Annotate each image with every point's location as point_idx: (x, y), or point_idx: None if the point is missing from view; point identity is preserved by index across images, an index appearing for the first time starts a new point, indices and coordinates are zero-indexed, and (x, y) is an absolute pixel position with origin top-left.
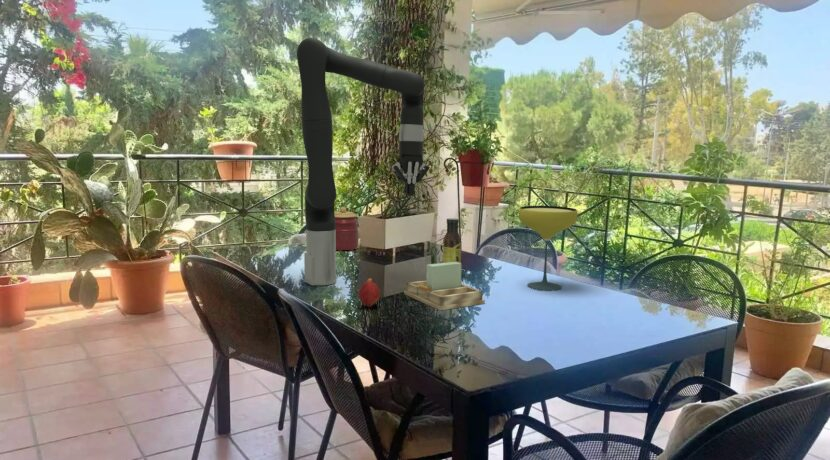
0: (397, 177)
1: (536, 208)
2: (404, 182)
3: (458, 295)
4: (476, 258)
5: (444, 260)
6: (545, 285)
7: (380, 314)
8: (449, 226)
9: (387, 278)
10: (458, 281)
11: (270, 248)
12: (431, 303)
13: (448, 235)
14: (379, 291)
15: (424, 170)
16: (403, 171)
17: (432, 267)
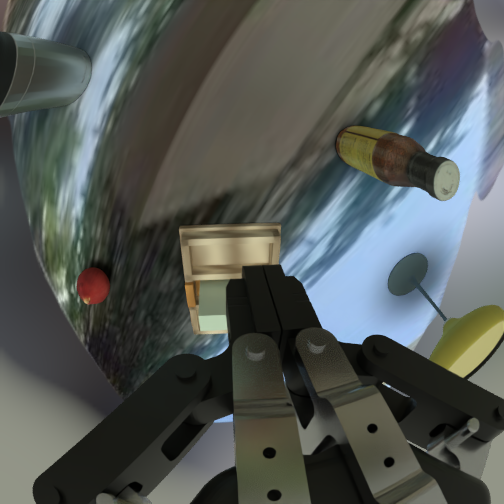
0: (135, 394)
1: (498, 324)
2: (218, 366)
3: (226, 332)
4: (472, 59)
5: (352, 150)
6: (402, 285)
7: (109, 307)
8: (418, 178)
9: (213, 80)
10: None
11: None
12: (189, 308)
13: (397, 171)
14: (106, 296)
15: (427, 443)
16: (215, 476)
17: (201, 329)
